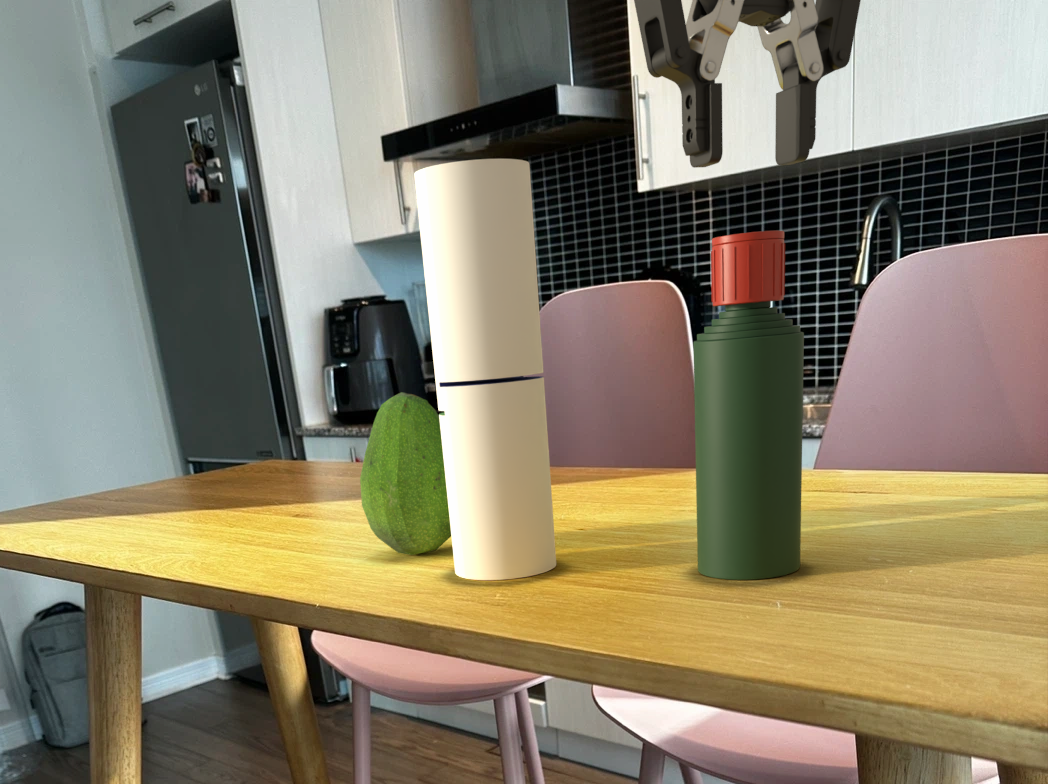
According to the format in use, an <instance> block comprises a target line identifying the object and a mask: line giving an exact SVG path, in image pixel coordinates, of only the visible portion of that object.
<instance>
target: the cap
mask: <svg viewBox="0 0 1048 784" xmlns="http://www.w3.org/2000/svg"><path fill="white" fill-rule="evenodd" d="M711 246H712V247H711V251H710V269H711V270H710V283H711V285H710V286H711V303H712V306H713V307H725V305H733V304H743V303H754V302H766V301H771V302H779V301H784V299H785V295H786V243H785V231H784V230H763V231H762V230H761V231H751V232H741V233H733V234H727V235H722V236H721V235H720V236H716V237H713V238H712V239H711Z"/></svg>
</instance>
